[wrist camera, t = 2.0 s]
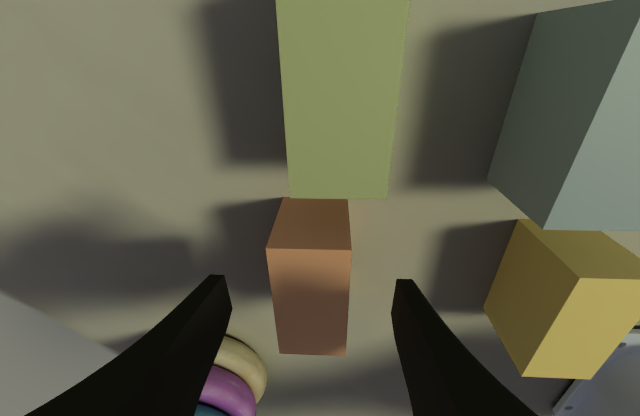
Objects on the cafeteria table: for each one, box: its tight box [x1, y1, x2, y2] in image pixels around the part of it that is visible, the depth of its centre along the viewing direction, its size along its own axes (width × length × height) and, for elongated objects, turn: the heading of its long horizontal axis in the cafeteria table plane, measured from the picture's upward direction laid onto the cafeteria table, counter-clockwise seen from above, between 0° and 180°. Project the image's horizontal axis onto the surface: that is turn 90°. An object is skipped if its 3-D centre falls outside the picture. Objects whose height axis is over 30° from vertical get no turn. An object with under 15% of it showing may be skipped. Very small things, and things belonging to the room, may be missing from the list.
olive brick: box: [276, 0, 411, 200], centre depth 9 cm, size 6×3×4 cm, turn 1°
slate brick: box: [486, 0, 640, 231], centre depth 9 cm, size 6×3×4 cm, turn 1°
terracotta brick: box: [266, 197, 352, 356], centre depth 13 cm, size 6×3×4 cm, turn 1°
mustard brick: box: [483, 219, 640, 379], centre depth 13 cm, size 6×3×4 cm, turn 1°
